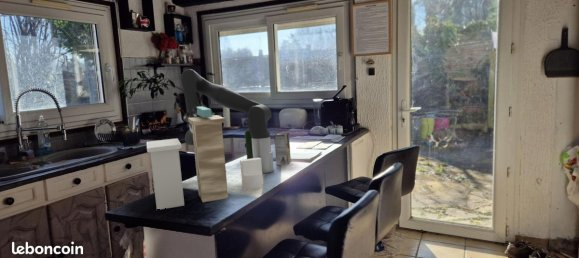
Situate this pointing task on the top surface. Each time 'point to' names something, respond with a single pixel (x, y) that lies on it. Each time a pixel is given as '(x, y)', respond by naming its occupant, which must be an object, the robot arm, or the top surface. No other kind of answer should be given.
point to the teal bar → (204, 112)
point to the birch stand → (209, 157)
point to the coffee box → (282, 148)
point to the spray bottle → (248, 143)
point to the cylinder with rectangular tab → (251, 173)
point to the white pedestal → (166, 172)
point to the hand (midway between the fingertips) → (200, 107)
